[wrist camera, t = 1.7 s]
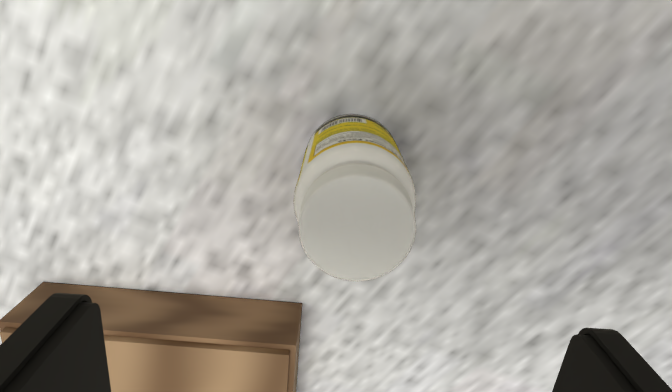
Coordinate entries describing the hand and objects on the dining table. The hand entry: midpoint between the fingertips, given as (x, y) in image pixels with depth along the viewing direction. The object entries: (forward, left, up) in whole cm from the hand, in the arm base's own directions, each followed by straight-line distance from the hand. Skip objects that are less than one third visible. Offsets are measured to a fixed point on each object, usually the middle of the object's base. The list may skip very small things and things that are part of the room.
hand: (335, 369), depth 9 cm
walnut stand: (+9, +16, -15) cm, 23 cm away
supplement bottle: (-1, 0, -15) cm, 15 cm away
